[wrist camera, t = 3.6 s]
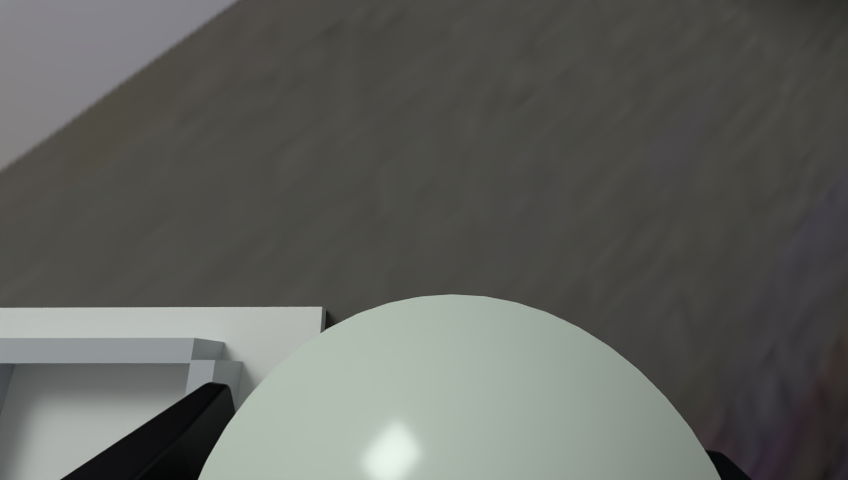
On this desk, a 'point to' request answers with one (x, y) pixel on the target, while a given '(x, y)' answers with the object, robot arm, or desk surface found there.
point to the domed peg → (456, 404)
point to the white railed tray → (124, 372)
